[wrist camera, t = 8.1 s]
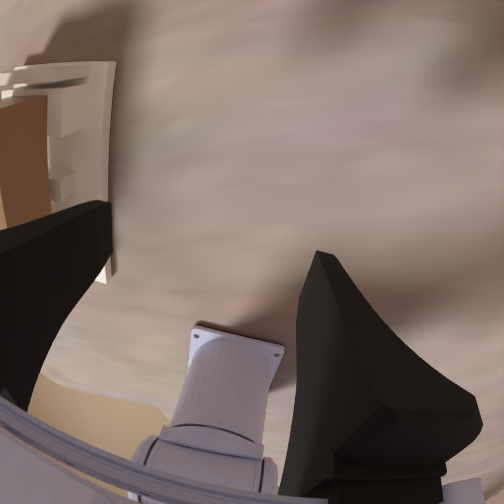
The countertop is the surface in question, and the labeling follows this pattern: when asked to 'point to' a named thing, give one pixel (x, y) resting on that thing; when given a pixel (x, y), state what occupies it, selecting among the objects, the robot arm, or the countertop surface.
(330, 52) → the countertop surface
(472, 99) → the countertop surface
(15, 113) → the tan wooden plank
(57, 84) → the display stand
